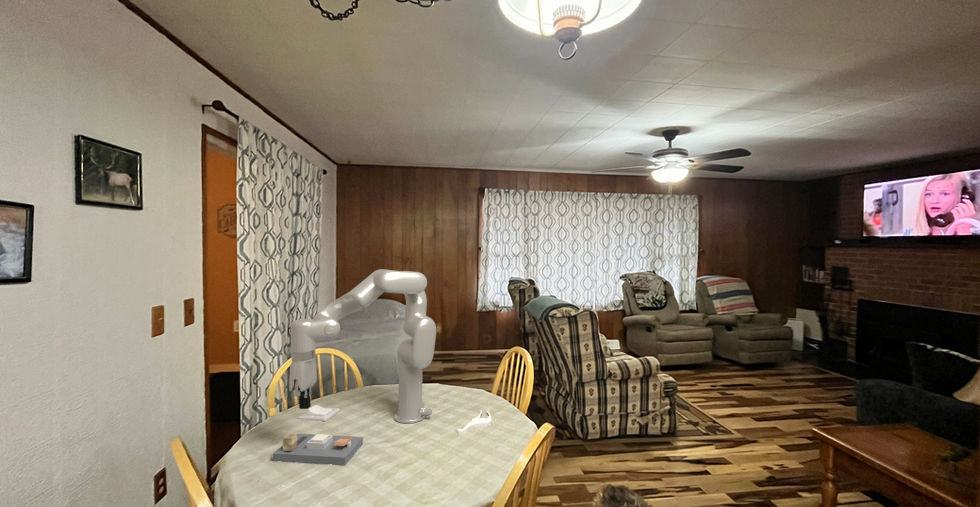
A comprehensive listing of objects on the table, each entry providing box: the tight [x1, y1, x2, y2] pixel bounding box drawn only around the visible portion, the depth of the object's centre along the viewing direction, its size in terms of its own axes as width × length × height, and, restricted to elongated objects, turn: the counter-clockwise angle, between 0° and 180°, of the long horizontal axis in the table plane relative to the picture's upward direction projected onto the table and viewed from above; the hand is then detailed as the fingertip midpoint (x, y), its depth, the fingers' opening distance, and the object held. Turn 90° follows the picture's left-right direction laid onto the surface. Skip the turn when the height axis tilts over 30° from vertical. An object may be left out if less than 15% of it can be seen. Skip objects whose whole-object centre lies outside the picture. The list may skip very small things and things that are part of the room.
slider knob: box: [282, 433, 298, 451], centre depth 129 cm, size 3×3×4 cm
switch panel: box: [272, 433, 364, 466], centre depth 132 cm, size 24×14×4 cm, turn 85°
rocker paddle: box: [334, 437, 352, 446], centre depth 132 cm, size 3×6×2 cm, turn 175°
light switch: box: [296, 404, 341, 422], centre depth 163 cm, size 11×4×13 cm
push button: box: [311, 433, 330, 443], centre depth 132 cm, size 4×4×2 cm
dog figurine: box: [454, 409, 493, 435], centre depth 157 cm, size 2×13×20 cm
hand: (304, 407), depth 136 cm, fingers closed
